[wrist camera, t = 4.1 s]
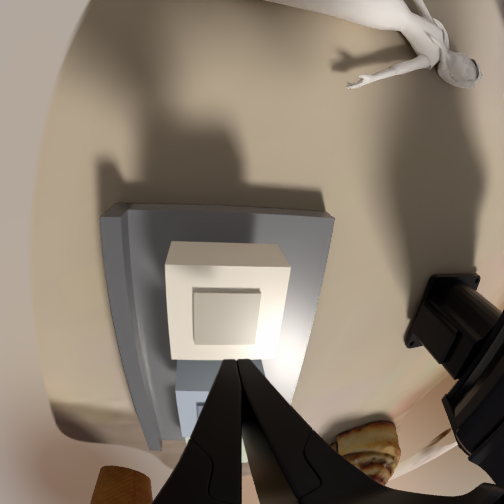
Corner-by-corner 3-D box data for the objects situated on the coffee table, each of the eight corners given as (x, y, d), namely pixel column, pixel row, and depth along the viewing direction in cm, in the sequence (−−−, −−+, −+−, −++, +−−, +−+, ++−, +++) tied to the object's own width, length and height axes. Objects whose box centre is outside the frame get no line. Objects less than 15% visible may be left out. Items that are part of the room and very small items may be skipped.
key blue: (261, 358, 15) (269, 391, 13) (253, 407, 17) (259, 437, 15) (177, 359, 14) (175, 393, 12) (182, 408, 16) (182, 439, 14)
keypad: (326, 211, 16) (344, 225, 13) (277, 426, 23) (283, 447, 21) (115, 203, 14) (99, 216, 11) (151, 427, 21) (149, 450, 19)
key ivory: (277, 244, 13) (292, 269, 10) (265, 328, 14) (275, 360, 12) (171, 241, 12) (164, 266, 10) (174, 327, 13) (171, 361, 11)
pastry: (397, 405, 26) (429, 460, 18) (389, 452, 32) (409, 492, 25) (280, 451, 26) (297, 515, 18) (304, 486, 32) (317, 529, 25)
